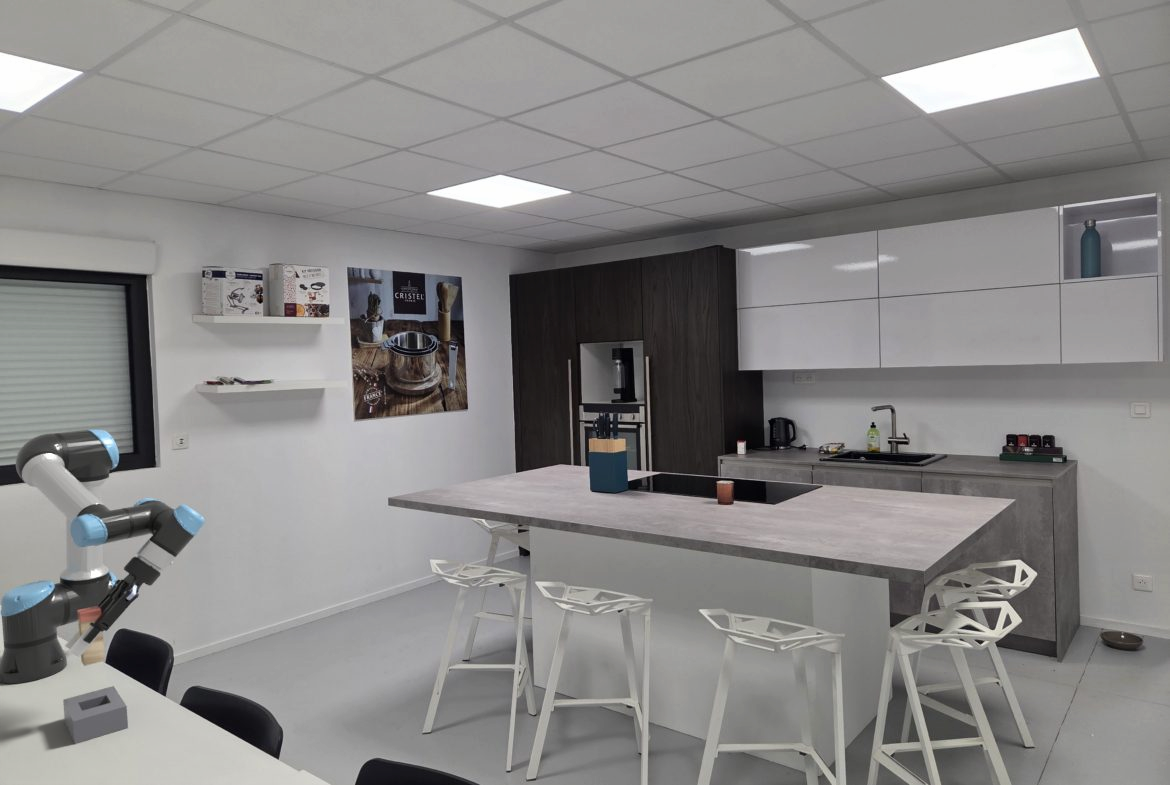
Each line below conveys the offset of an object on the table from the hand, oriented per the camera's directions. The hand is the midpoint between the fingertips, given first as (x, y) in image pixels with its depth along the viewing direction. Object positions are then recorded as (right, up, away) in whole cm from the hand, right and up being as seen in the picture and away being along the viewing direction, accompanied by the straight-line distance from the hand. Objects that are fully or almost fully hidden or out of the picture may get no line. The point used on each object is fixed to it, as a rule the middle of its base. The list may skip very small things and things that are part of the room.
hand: (72, 651), depth 171 cm
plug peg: (+3, -3, +3) cm, 5 cm away
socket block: (+5, -17, 0) cm, 17 cm away
